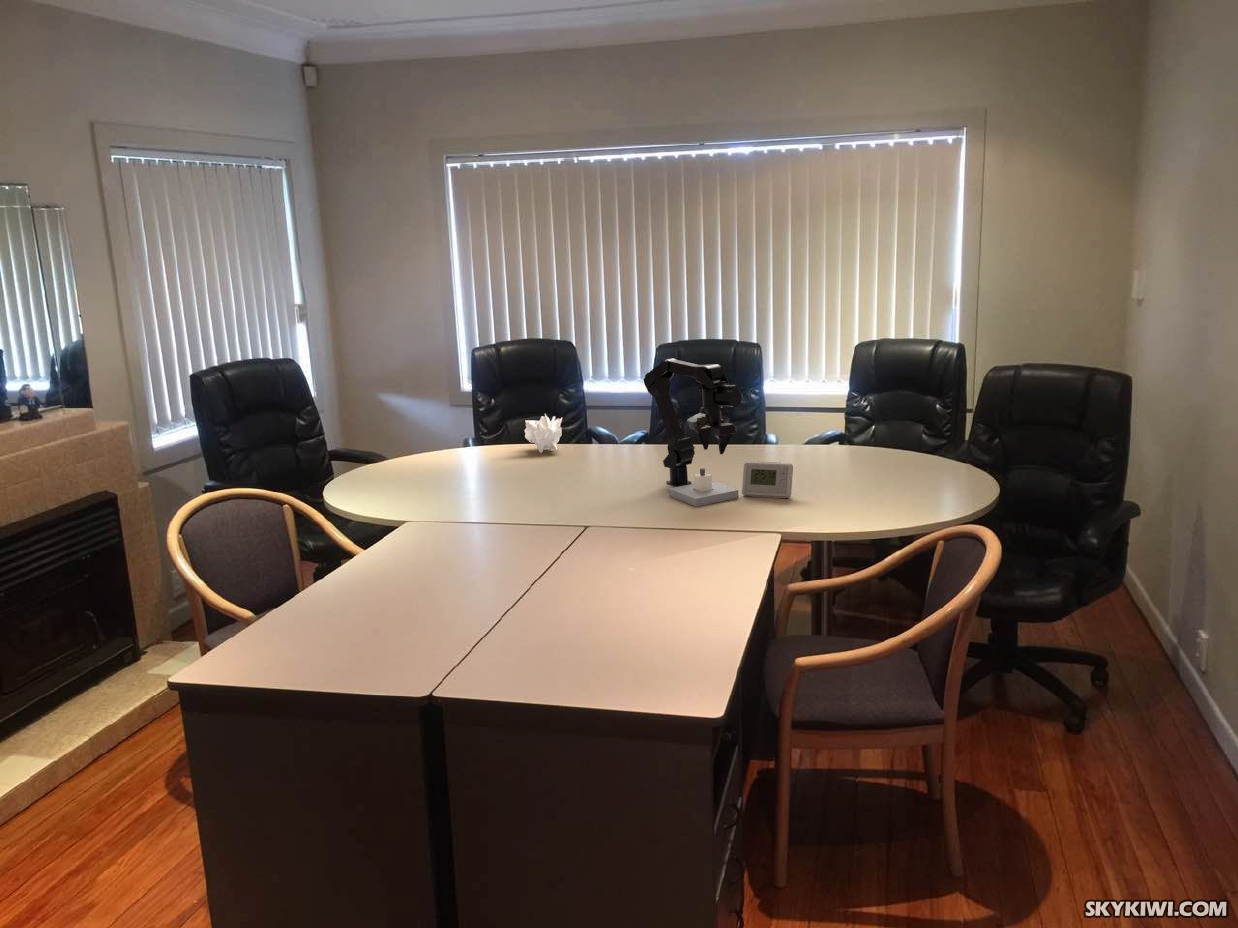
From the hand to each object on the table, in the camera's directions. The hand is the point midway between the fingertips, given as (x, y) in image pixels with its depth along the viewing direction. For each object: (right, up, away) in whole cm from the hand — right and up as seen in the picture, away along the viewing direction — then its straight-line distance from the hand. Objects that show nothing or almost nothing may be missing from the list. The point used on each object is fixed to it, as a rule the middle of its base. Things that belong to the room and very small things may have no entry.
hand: (713, 451), depth 332 cm
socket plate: (-4, -14, -4) cm, 15 cm away
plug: (-4, -14, -4) cm, 15 cm away
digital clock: (+16, -14, -7) cm, 23 cm away
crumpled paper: (-61, +1, +77) cm, 98 cm away
